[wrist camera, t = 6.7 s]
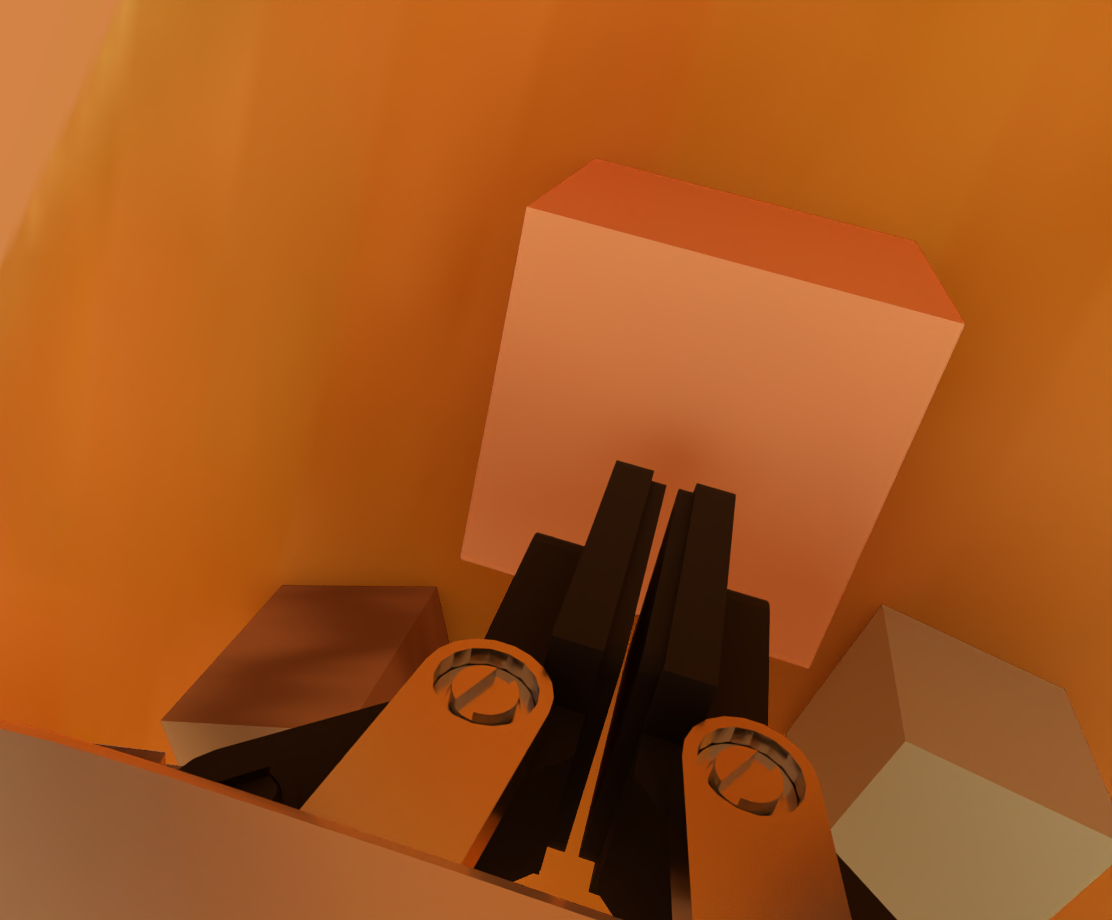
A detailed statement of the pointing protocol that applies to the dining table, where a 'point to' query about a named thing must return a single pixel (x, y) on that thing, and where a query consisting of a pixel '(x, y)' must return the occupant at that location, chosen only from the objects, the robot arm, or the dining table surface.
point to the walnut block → (307, 663)
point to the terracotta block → (709, 379)
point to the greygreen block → (954, 778)
